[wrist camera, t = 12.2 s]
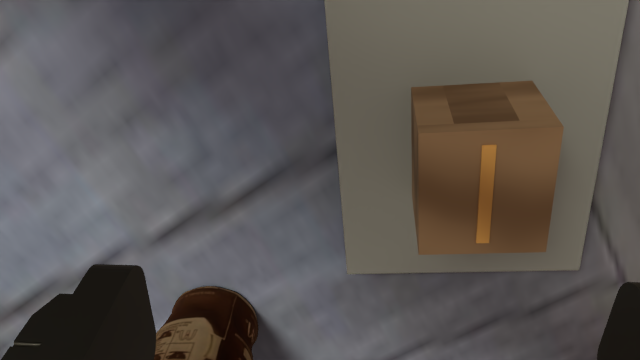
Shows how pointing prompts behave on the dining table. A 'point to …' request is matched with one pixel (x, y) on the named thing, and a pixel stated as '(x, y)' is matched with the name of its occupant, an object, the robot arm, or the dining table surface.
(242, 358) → the coffee cup
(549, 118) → the cardboard box
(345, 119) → the base plate
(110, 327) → the robot arm
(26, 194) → the dining table surface
